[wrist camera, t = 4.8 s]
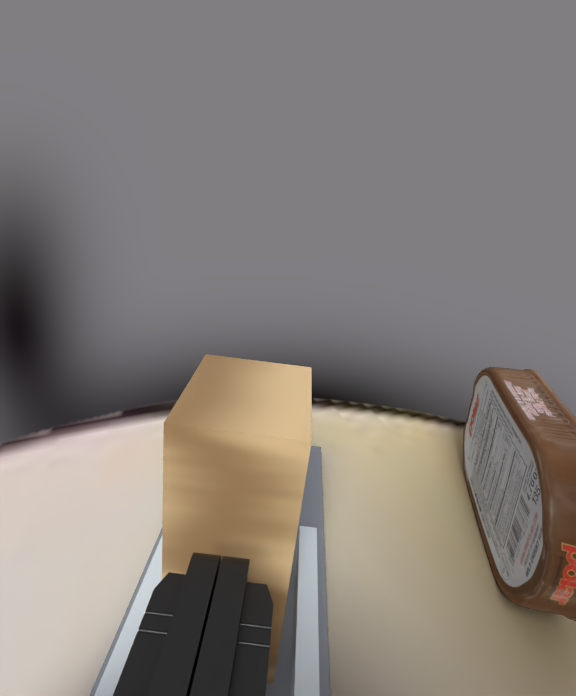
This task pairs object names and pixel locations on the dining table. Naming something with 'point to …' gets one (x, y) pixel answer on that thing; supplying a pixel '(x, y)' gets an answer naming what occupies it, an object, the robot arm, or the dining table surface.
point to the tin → (524, 486)
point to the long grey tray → (299, 618)
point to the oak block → (238, 472)
